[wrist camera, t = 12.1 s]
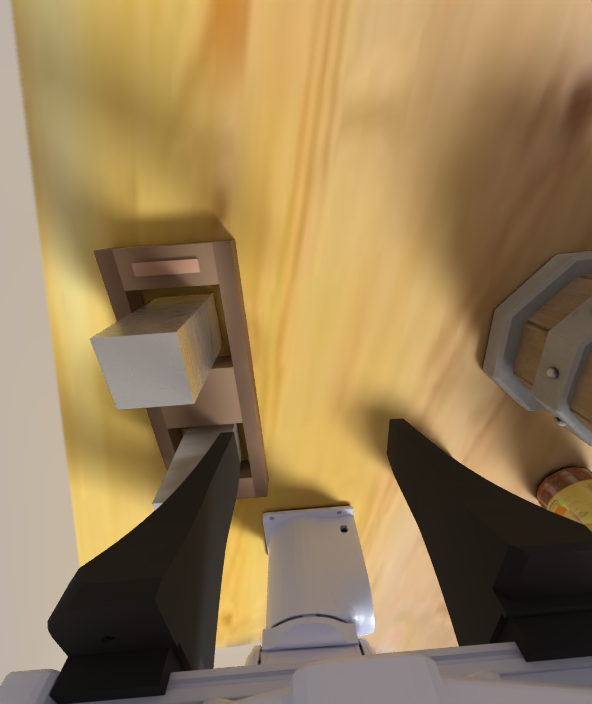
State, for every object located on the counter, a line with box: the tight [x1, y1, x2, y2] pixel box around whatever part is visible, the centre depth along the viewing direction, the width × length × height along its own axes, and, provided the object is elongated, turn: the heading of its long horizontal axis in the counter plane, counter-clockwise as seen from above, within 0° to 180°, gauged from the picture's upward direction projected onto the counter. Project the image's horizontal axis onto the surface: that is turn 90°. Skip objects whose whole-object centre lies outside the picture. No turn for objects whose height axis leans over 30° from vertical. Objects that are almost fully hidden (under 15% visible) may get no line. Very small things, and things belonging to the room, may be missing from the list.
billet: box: [90, 293, 223, 410], centre depth 18 cm, size 4×4×8 cm
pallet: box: [94, 240, 268, 510], centre depth 20 cm, size 8×22×8 cm, turn 4°
